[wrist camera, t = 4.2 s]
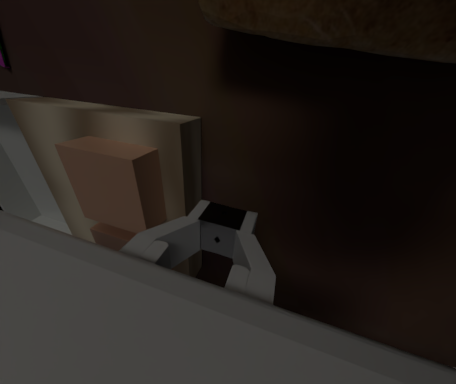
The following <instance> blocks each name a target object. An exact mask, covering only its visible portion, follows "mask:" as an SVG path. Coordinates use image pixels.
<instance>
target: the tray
mask: <svg viewBox="0 0 456 384" xmlns="http://www.w3.org/2000/svg"><path fill="white" fill-rule="evenodd" d="M39 97H42V96H35V95H27V94H19V93H12V92H4V91H0V206H1V208H2V209H3V210H4V212H7V213H10V214H13V215H16V216H19V217H21V218H24V219H27V220H30V221H33V222H36V223H39V224H42V225H44V226H47V227H50V228H53V229H56V230H59V231H62V232H65V233H68V234H70V235H72V233H71V231H70V229H69V227H68V225H67V223H66V221H65V219H64V217H63V215H62V213H61V211H60V209H59V207H58V205H57V203H56V201H55V199H54V197H53V195H52V193H51V191H50V189H49V187H48V185H47V183H46V181H45V179H44V177H43V175H42V173H41V171H40V169H39V167H38V164H37V162H36V160H35V158H34V156H33V154H32V152H31V150H30V148H29V146H28V144H27V142H26V140H25V138H24V136H23V134H22V132H21V130H20V128H19V126H18V124H17V122H16V120H15V118H14V116H13V114H12V112H11V110H10V108H9V106H8V104H7V102H6V100H5V99H17V98H39Z"/></svg>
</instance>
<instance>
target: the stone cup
mask: <svg viewBox="0 0 456 384" xmlns="http://www.w3.org/2000/svg"><path fill="white" fill-rule="evenodd" d="M198 2H199V5H200V8H201V10H202V12H203V15H204V19H205V20H207V21H208V22H209V23H210V24H211V25H214V26H218V27H222V28H226V29H230V30H234V31H239V32H244V33H248V34H255V35H263V36H267V37H269V38H272V39H278V40H283V41H289V42H294V43H301V44H307V45H314V46H325V47H336V48H346V49H352V50H358V51H363V52H369V53H374V54H380V55H386V56H394V57H402V58H410V59H418V60H426V61H434V62H441V63H456V0H198Z"/></svg>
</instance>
